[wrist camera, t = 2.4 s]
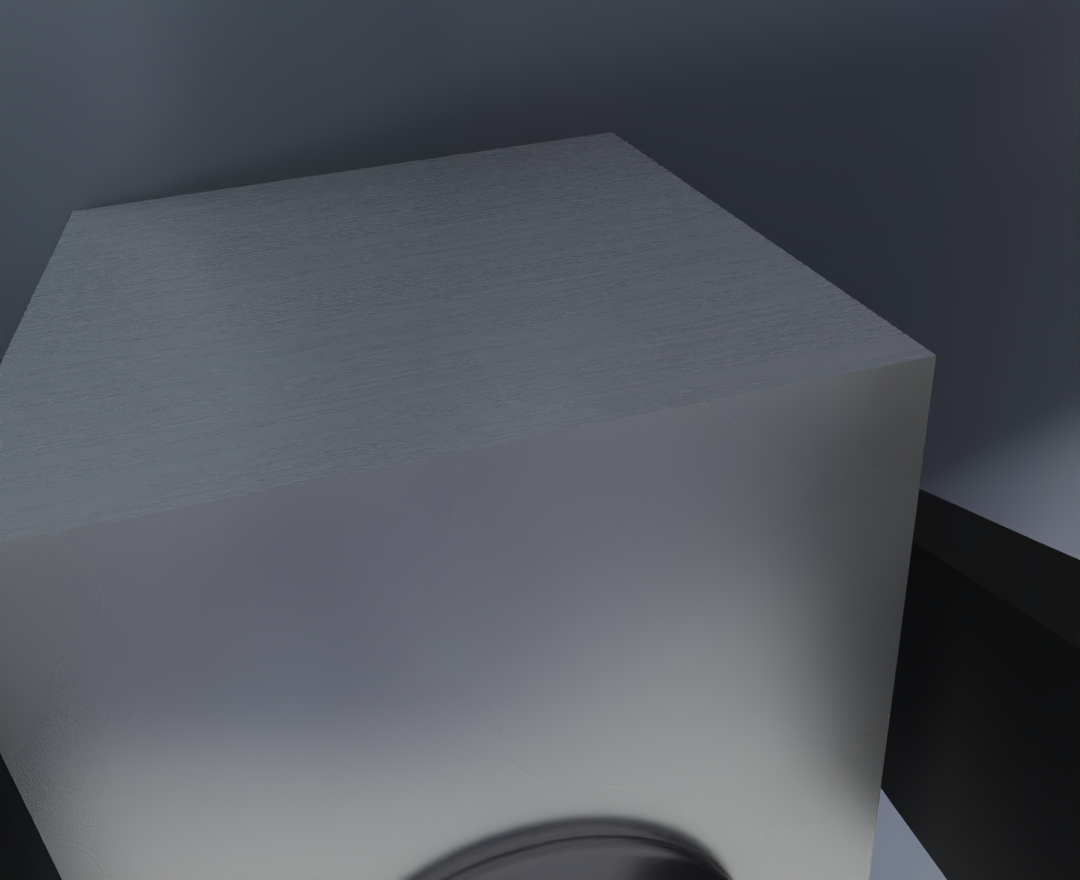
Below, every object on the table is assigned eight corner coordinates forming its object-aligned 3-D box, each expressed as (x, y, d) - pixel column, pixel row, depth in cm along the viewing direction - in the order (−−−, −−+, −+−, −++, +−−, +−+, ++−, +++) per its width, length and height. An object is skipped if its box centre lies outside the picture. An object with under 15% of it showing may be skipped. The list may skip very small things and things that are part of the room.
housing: (280, 858, 12) (305, 1402, 8) (75, 206, 8) (-106, 585, 4) (635, 763, 13) (838, 1210, 9) (607, 129, 9) (957, 367, 5)
